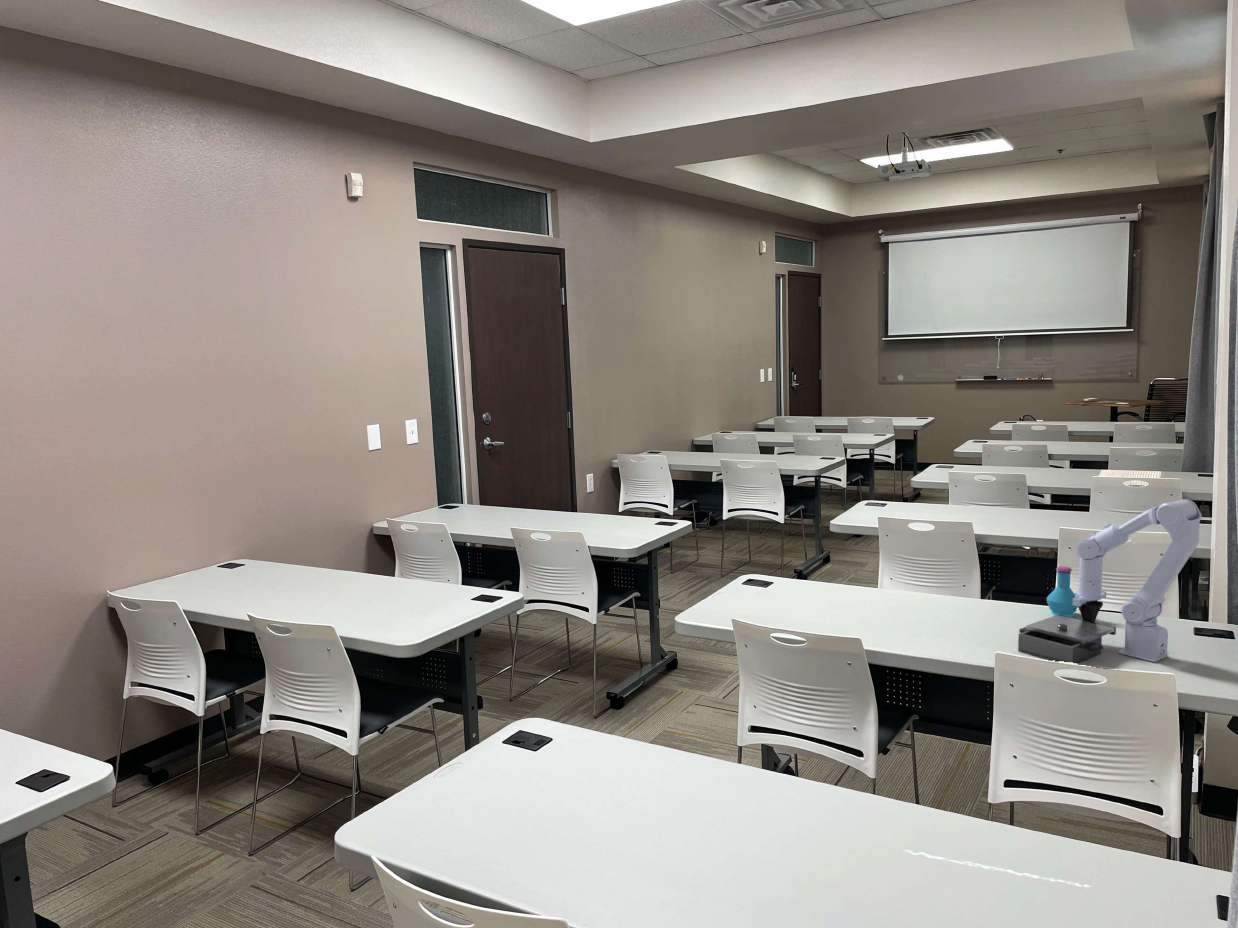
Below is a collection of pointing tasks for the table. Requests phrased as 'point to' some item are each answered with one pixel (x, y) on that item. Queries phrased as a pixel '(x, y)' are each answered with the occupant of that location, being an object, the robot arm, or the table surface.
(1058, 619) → the cooker lid
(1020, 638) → the dark grey box
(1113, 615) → the table surface
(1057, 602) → the perfume bottle
